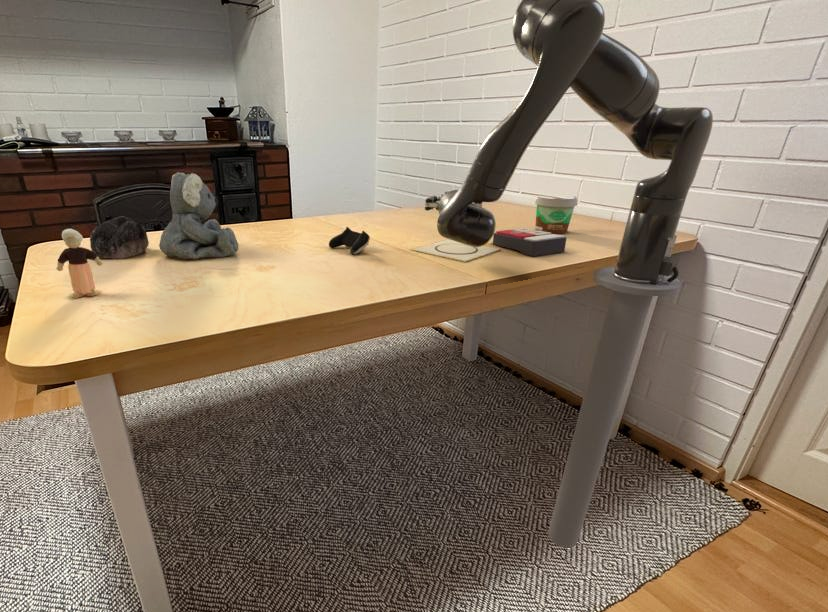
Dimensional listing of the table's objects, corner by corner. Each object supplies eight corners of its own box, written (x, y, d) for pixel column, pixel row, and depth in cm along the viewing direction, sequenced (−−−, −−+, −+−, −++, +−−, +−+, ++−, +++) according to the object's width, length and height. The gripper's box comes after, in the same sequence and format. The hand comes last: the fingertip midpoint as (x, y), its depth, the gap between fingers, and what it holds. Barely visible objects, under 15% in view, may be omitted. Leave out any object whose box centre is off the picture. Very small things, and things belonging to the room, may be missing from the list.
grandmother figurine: (67, 301, 88) (47, 233, 82) (64, 295, 91) (44, 229, 85) (111, 293, 92) (94, 227, 86) (107, 288, 95) (91, 224, 89)
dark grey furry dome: (88, 254, 121) (75, 216, 116) (141, 242, 128) (131, 205, 123) (101, 269, 113) (87, 229, 107) (157, 256, 119) (146, 217, 114)
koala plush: (242, 256, 117) (233, 172, 108) (168, 266, 109) (151, 176, 100) (223, 242, 130) (213, 166, 121) (155, 250, 122) (140, 170, 113)
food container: (539, 235, 136) (545, 199, 131) (530, 231, 142) (536, 196, 137) (579, 234, 137) (587, 199, 132) (569, 230, 142) (576, 196, 138)
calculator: (524, 226, 130) (568, 234, 117) (522, 242, 131) (565, 251, 119) (493, 230, 125) (535, 238, 113) (491, 246, 127) (532, 256, 115)
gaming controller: (361, 262, 119) (376, 240, 120) (352, 251, 116) (367, 229, 116) (335, 254, 126) (349, 233, 127) (325, 243, 123) (340, 222, 124)
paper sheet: (499, 250, 121) (499, 248, 121) (465, 261, 111) (465, 260, 111) (448, 240, 131) (448, 238, 131) (412, 250, 121) (412, 248, 121)
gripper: (423, 227, 105) (420, 214, 120) (487, 228, 104) (476, 215, 119) (425, 191, 101) (422, 183, 117) (492, 192, 100) (480, 183, 116)
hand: (449, 199), depth 118 cm, fingers closed on dot stamp, 3 cm apart
